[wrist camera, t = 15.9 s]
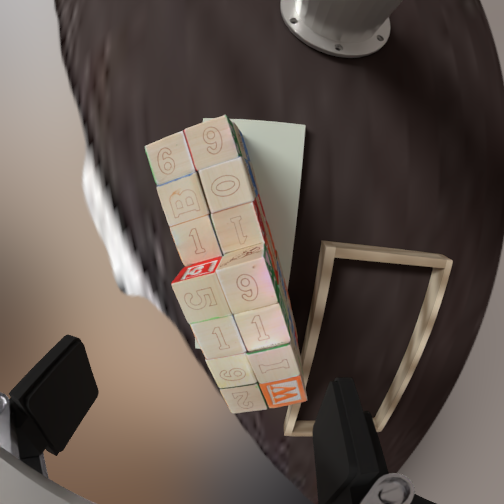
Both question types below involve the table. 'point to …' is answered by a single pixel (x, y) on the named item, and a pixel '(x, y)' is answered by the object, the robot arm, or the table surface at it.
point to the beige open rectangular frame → (419, 335)
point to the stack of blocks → (228, 266)
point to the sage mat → (276, 178)
